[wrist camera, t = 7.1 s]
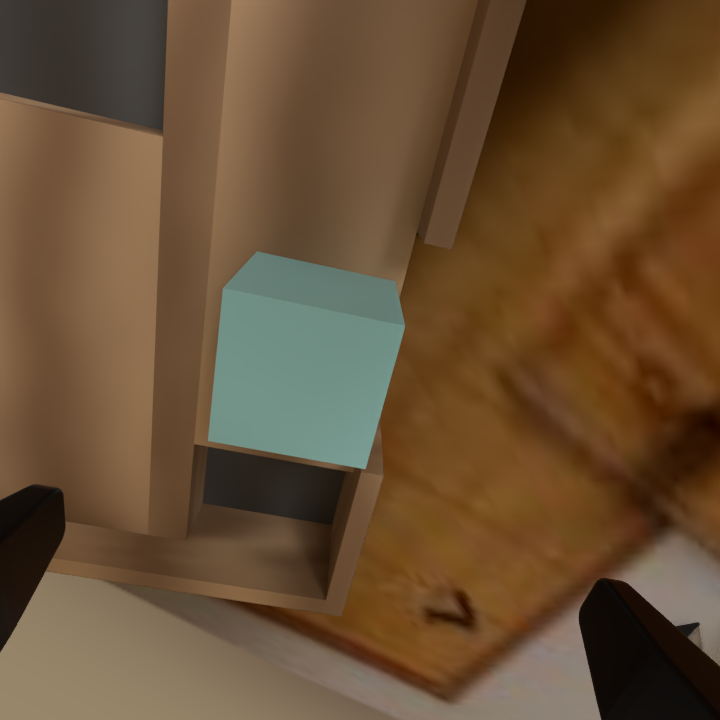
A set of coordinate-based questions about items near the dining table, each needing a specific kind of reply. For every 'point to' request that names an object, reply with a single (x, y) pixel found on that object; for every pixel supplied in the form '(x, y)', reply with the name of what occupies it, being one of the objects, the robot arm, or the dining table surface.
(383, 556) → the dining table surface
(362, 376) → the block
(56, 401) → the box
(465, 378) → the dining table surface
